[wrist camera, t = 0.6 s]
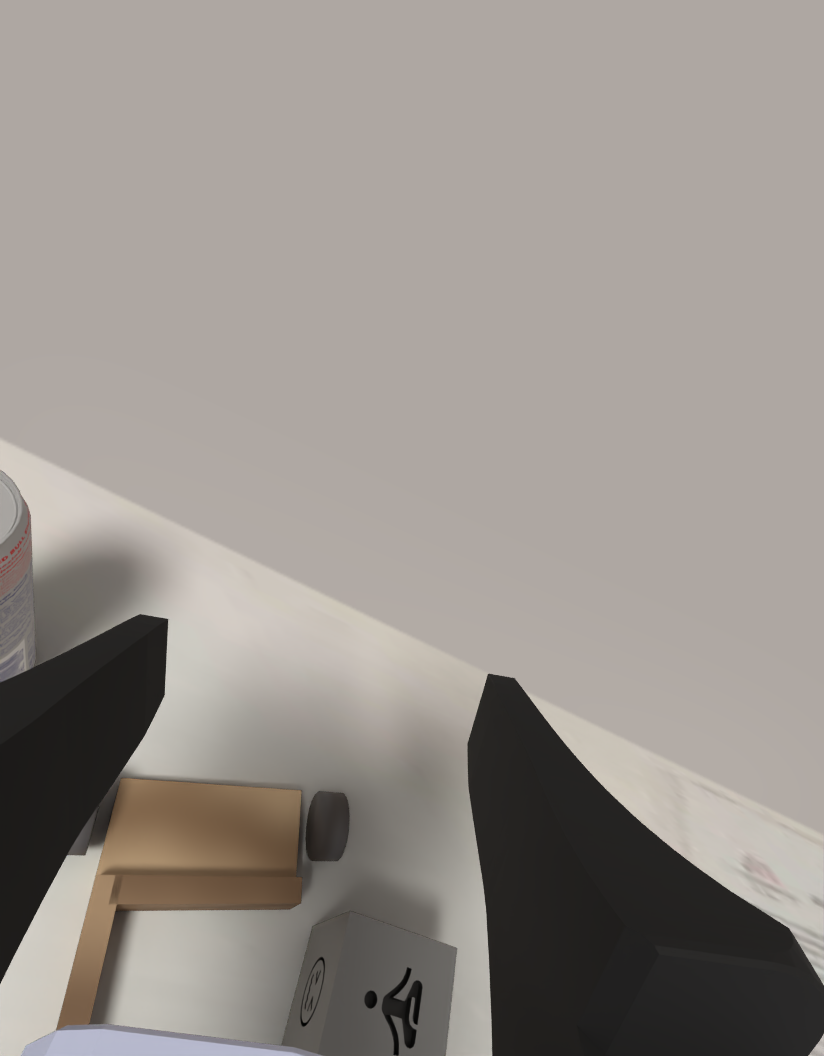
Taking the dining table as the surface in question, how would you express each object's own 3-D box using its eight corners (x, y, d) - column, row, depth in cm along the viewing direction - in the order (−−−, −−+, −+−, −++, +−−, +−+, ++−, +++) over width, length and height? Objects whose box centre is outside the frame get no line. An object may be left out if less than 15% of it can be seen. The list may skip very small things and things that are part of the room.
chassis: (312, 1353, 19) (343, 1390, 17) (-140, 1490, 15) (-169, 1562, 13) (329, 797, 30) (349, 780, 28) (76, 780, 26) (79, 758, 24)
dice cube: (384, 1103, 24) (438, 1114, 20) (273, 1071, 23) (311, 1078, 20) (407, 958, 27) (457, 947, 24) (312, 926, 27) (350, 910, 23)
